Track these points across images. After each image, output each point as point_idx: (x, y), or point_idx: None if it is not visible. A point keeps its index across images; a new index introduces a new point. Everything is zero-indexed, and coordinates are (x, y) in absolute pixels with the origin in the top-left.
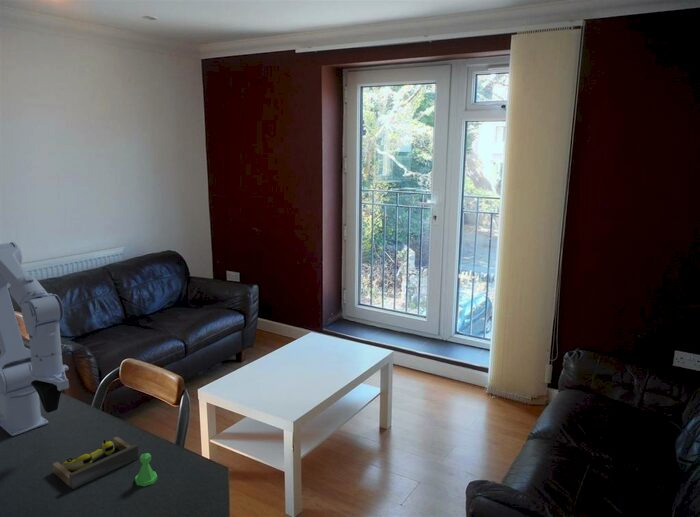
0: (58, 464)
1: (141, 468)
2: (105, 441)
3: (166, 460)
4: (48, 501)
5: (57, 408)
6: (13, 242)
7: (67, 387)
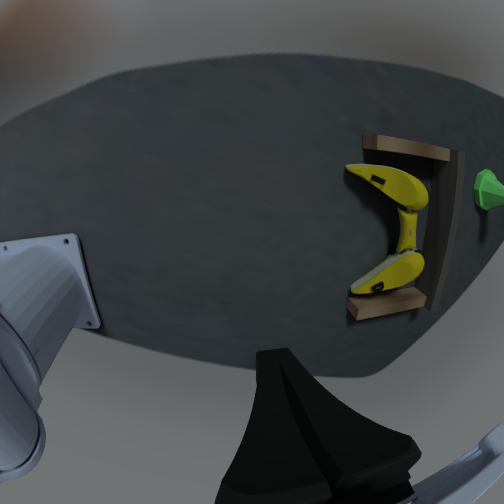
0: (370, 310)
1: (501, 203)
2: (385, 180)
3: (472, 122)
4: (408, 331)
5: (288, 349)
6: None
7: (498, 430)
